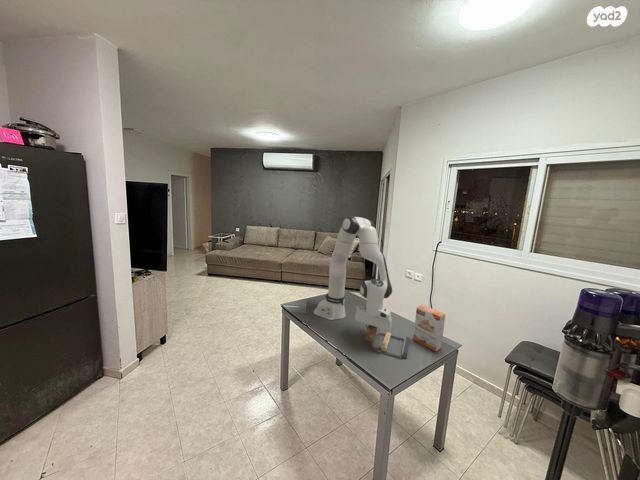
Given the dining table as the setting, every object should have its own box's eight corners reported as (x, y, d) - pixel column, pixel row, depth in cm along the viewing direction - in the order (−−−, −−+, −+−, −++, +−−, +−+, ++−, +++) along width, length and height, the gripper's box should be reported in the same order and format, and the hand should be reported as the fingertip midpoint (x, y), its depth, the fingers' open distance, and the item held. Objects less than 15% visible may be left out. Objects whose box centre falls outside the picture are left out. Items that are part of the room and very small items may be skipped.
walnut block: (365, 339, 134) (366, 328, 133) (369, 332, 141) (370, 322, 140) (372, 341, 133) (373, 330, 132) (376, 334, 140) (377, 324, 139)
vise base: (373, 351, 131) (373, 345, 131) (380, 333, 148) (380, 328, 148) (406, 360, 125) (406, 354, 124) (409, 341, 142) (410, 336, 141)
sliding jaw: (381, 351, 131) (381, 346, 131) (386, 336, 145) (386, 331, 145) (386, 352, 130) (386, 347, 130) (390, 337, 144) (391, 332, 144)
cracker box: (412, 339, 143) (416, 306, 139) (418, 336, 147) (422, 304, 143) (435, 352, 132) (440, 316, 128) (441, 348, 135) (446, 313, 132)
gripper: (354, 306, 136) (352, 329, 139) (391, 316, 127) (388, 340, 129) (358, 302, 142) (355, 324, 144) (394, 311, 132) (391, 335, 135)
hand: (371, 332), depth 137 cm, fingers closed on walnut block, 4 cm apart
